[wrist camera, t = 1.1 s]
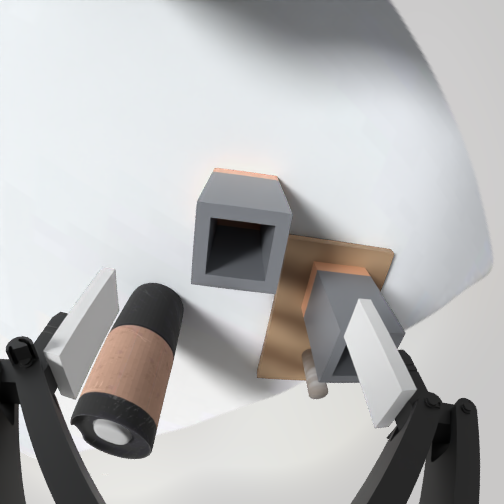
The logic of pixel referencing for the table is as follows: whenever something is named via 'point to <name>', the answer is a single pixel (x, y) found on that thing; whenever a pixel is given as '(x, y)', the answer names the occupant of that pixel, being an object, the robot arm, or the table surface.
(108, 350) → the travel mug
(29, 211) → the table surface
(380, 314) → the seated sleeve
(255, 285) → the banded sleeve
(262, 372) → the pinboard
